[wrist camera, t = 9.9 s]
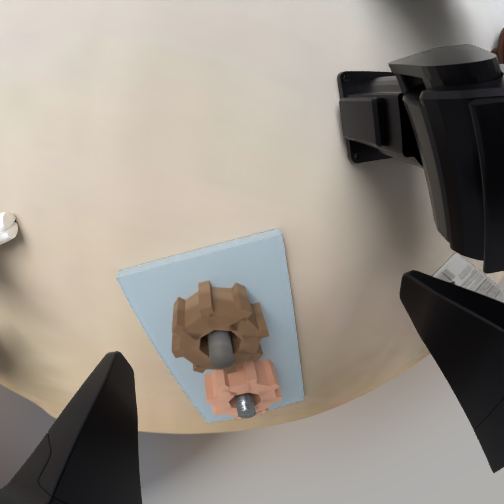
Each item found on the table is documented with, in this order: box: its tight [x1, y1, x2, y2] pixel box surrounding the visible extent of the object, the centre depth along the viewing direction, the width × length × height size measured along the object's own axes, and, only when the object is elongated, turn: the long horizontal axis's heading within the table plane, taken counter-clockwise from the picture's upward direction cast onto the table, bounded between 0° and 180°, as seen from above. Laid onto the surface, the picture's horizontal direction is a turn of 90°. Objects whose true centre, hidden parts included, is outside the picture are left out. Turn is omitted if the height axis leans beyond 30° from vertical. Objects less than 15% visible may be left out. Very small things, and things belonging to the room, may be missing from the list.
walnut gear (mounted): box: [172, 280, 269, 374], centre depth 19 cm, size 7×7×4 cm
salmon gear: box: [204, 359, 282, 419], centre depth 24 cm, size 7×7×3 cm
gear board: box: [116, 229, 305, 423], centre depth 24 cm, size 12×22×1 cm, turn 11°
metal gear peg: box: [235, 393, 256, 418], centre depth 23 cm, size 2×2×4 cm
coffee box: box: [433, 253, 504, 303], centre depth 20 cm, size 9×6×16 cm
